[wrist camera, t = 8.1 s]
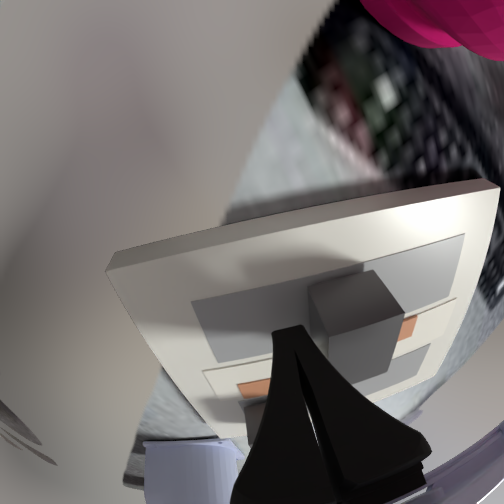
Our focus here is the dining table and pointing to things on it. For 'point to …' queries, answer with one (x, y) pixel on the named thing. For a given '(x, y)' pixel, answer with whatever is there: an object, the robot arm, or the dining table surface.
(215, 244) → the switch panel
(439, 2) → the pepper mill
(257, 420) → the dark grey block
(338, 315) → the tab
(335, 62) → the dining table surface
